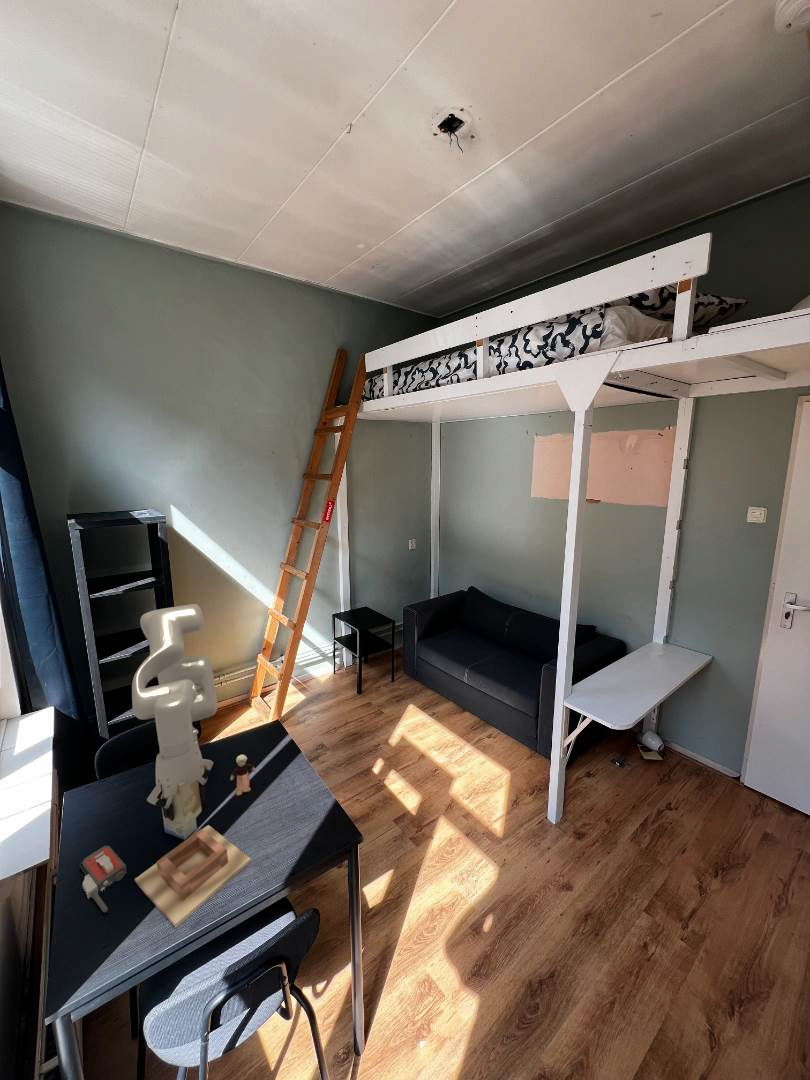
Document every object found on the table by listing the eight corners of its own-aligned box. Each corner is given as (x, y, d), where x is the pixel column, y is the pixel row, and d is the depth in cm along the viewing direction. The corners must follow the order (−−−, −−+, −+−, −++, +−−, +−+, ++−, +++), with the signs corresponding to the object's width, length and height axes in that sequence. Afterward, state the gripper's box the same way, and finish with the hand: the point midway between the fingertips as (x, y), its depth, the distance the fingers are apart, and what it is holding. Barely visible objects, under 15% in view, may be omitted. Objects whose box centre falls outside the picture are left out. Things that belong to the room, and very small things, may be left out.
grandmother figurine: (235, 799, 137) (231, 763, 135) (231, 793, 140) (226, 757, 137) (258, 787, 142) (255, 752, 140) (254, 781, 145) (250, 747, 142)
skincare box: (186, 830, 106) (180, 786, 104) (170, 827, 107) (164, 784, 105) (203, 809, 113) (197, 768, 110) (188, 807, 113) (183, 766, 111)
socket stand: (135, 882, 110) (132, 865, 109) (208, 827, 126) (206, 812, 125) (175, 928, 99) (173, 909, 98) (250, 861, 115) (249, 845, 114)
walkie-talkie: (71, 874, 113) (101, 919, 102) (68, 860, 113) (98, 904, 101) (108, 850, 120) (141, 890, 109) (106, 836, 120) (139, 875, 108)
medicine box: (164, 832, 125) (160, 806, 124) (177, 821, 129) (174, 795, 128) (184, 840, 122) (181, 813, 121) (197, 828, 126) (194, 802, 125)
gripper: (202, 721, 115) (209, 780, 118) (131, 758, 101) (142, 824, 104) (218, 730, 111) (225, 791, 114) (147, 770, 97) (157, 839, 100)
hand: (185, 807), depth 109 cm, fingers closed on skincare box, 7 cm apart
